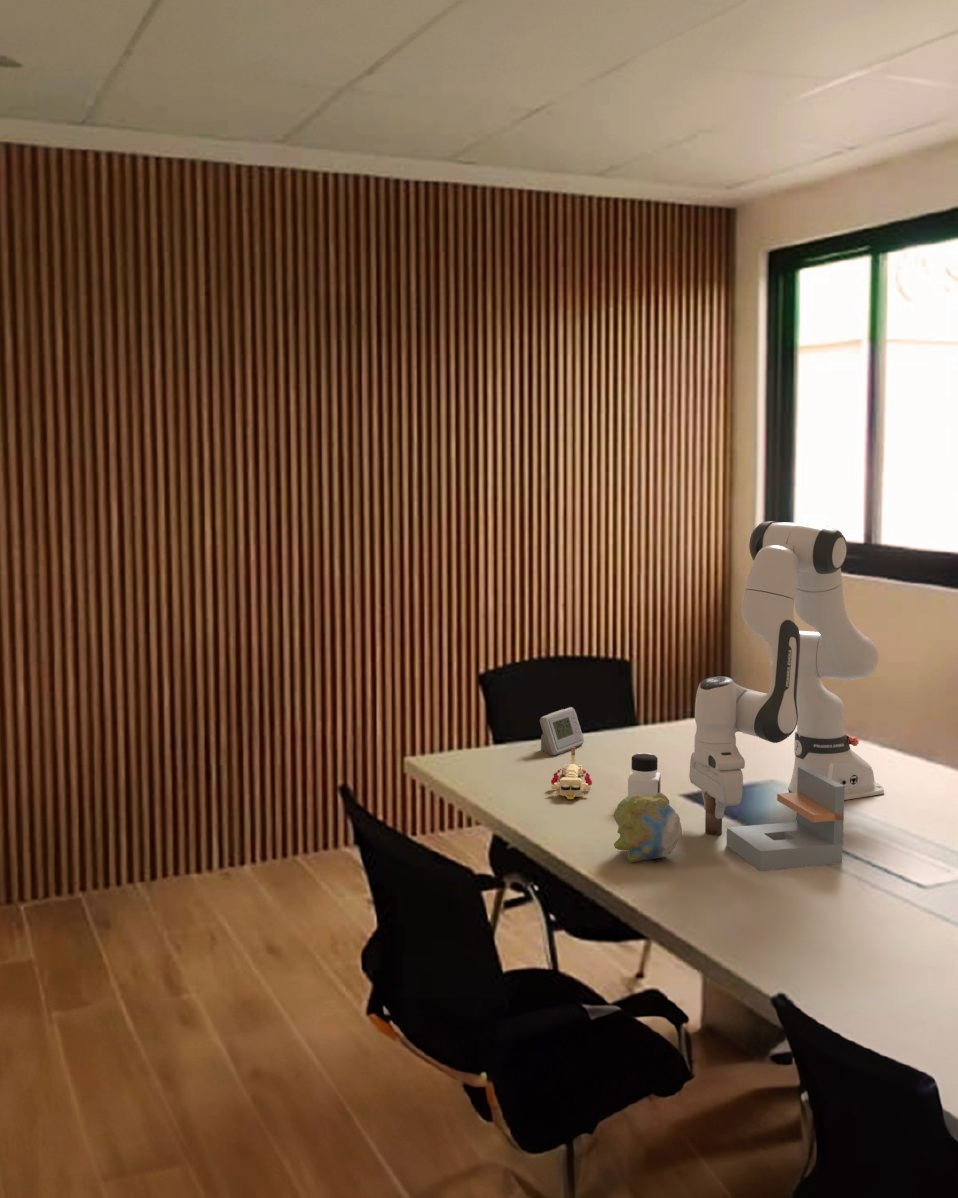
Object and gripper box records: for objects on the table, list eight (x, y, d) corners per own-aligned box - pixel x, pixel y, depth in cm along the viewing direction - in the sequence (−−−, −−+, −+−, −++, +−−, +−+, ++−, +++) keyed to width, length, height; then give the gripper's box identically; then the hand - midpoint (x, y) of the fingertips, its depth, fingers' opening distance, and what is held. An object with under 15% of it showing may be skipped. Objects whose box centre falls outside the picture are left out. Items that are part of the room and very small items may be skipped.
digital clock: (552, 757, 345) (552, 719, 344) (528, 751, 352) (528, 713, 350) (593, 747, 356) (593, 709, 355) (569, 741, 363) (569, 705, 361)
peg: (717, 829, 281) (718, 785, 280) (724, 834, 278) (725, 789, 277) (702, 831, 281) (703, 786, 279) (709, 836, 277) (709, 791, 276)
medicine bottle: (658, 809, 297) (658, 759, 295) (627, 808, 298) (627, 758, 297) (660, 801, 304) (660, 751, 302) (630, 799, 305) (630, 750, 304)
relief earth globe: (684, 787, 259) (638, 774, 271) (625, 823, 251) (580, 807, 264) (700, 847, 262) (654, 831, 275) (643, 884, 255) (598, 866, 268)
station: (804, 839, 275) (806, 766, 272) (842, 863, 259) (844, 786, 257) (726, 845, 270) (727, 772, 268) (760, 870, 255) (761, 792, 253)
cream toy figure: (553, 779, 329) (549, 799, 304) (554, 745, 328) (549, 762, 303) (592, 780, 328) (591, 800, 303) (592, 746, 327) (591, 763, 302)
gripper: (682, 742, 286) (681, 802, 288) (720, 765, 267) (719, 829, 268) (709, 740, 288) (708, 800, 290) (748, 762, 268) (747, 827, 270)
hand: (713, 814), depth 279 cm, fingers closed on peg, 4 cm apart
